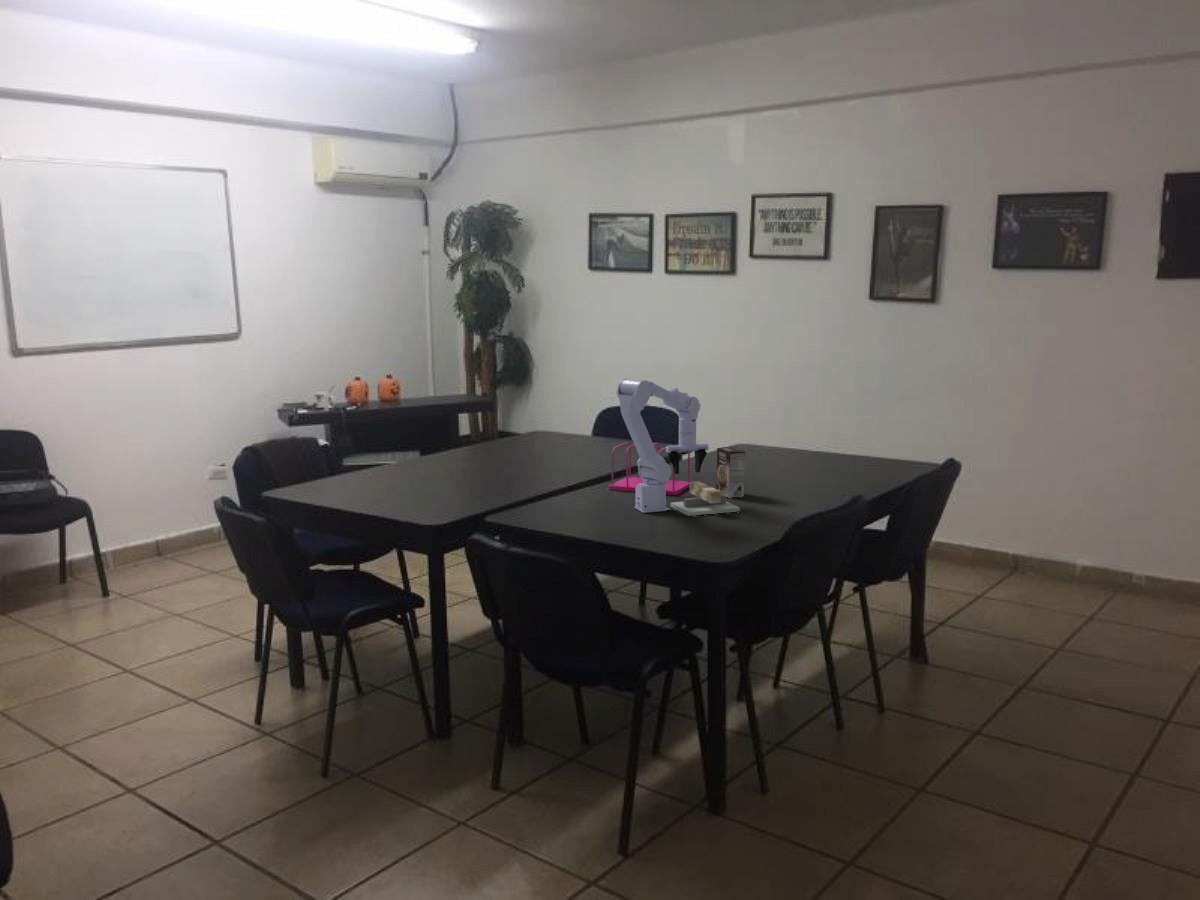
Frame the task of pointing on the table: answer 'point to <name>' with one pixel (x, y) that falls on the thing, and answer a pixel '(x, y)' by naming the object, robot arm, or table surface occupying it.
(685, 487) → the file sorter
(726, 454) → the coffee box
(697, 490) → the tan wooden block
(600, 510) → the table surface
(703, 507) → the ridge stand
